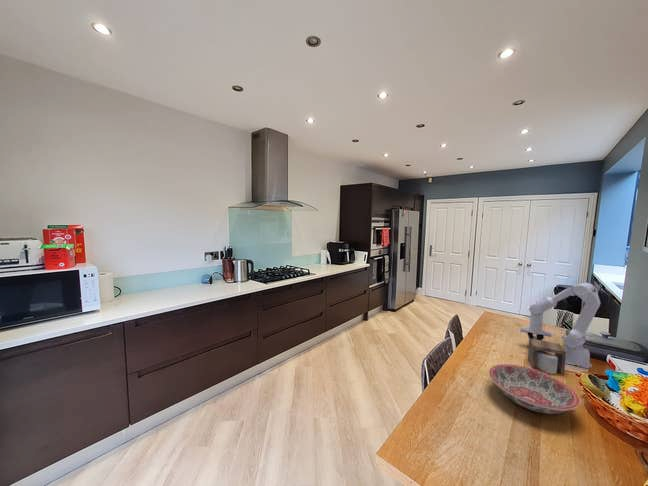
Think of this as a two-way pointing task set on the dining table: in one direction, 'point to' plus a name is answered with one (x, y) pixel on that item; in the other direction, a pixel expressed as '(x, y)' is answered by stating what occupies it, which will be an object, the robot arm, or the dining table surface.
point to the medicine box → (546, 362)
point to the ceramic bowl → (534, 389)
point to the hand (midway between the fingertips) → (534, 345)
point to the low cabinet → (548, 347)
